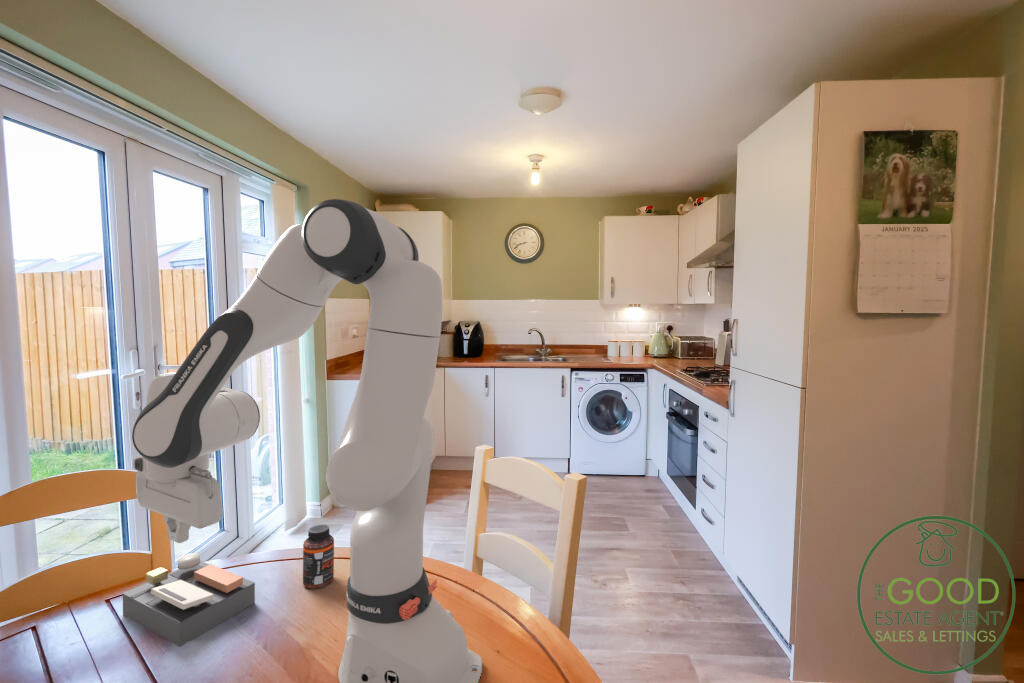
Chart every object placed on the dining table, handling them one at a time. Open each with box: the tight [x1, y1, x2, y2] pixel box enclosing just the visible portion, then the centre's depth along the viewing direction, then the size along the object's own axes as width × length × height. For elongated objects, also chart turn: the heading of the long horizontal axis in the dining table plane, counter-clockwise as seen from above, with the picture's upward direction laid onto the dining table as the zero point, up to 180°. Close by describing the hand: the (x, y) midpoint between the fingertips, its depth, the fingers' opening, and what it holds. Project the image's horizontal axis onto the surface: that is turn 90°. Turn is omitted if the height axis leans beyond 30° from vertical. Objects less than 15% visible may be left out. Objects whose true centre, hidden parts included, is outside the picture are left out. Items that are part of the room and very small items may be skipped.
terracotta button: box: [194, 563, 244, 593], centre depth 84 cm, size 10×3×1 cm, turn 64°
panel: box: [122, 560, 256, 647], centre depth 82 cm, size 18×13×4 cm
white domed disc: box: [177, 552, 201, 570], centre depth 88 cm, size 4×4×1 cm
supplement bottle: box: [302, 524, 335, 590], centre depth 92 cm, size 6×6×11 cm
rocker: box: [151, 580, 213, 610], centre depth 78 cm, size 10×5×1 cm, turn 64°
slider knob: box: [145, 566, 169, 586], centre depth 83 cm, size 2×2×2 cm
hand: (178, 540), depth 78 cm, fingers closed
